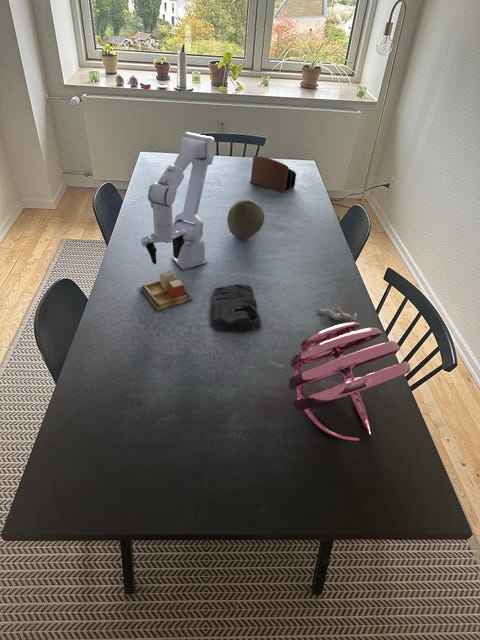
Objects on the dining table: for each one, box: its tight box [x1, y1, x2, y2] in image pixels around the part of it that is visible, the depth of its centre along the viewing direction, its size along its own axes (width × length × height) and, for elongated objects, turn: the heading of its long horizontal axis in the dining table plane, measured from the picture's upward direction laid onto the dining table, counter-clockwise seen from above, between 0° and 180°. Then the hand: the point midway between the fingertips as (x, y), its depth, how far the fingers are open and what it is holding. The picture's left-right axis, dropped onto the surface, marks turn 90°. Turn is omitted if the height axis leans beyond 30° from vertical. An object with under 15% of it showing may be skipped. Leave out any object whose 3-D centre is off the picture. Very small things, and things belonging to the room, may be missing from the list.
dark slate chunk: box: [210, 283, 262, 332], centre depth 144 cm, size 15×22×5 cm
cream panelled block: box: [159, 269, 177, 289], centre depth 150 cm, size 4×4×5 cm
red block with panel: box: [168, 279, 185, 299], centre depth 146 cm, size 4×4×5 cm
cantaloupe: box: [226, 198, 265, 239], centre depth 178 cm, size 14×14×15 cm
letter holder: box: [250, 155, 297, 195], centre depth 219 cm, size 10×20×14 cm, turn 55°
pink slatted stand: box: [288, 321, 411, 442], centre depth 106 cm, size 28×28×27 cm
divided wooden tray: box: [140, 279, 192, 312], centre depth 148 cm, size 12×13×2 cm
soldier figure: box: [317, 305, 358, 322], centre depth 144 cm, size 8×5×12 cm
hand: (165, 260), depth 148 cm, fingers open, 7 cm apart
